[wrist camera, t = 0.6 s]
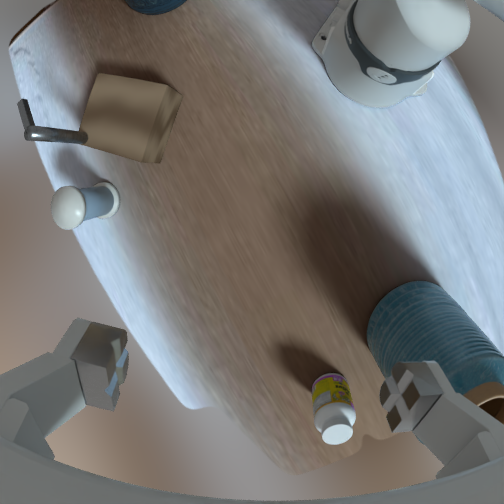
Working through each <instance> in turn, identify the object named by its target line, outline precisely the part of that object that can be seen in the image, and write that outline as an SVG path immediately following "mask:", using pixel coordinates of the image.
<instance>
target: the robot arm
mask: <svg viewBox="0 0 504 504" xmlns="http://www.w3.org/2000/svg"><path fill="white" fill-rule="evenodd" d="M473 1H475V2H476V3H478V4H480V5H481V6H482V7H484V8H485V9H487V10H488V11H490V12H491V13H492V14H494V15H495V16H497V17H498V18H499V19H501V20H502V21H503V22H504V0H473ZM469 30H470V14H469V10H468V7H467V5H466V2H465V0H339V2H338V4H337V6H336V8H335V9H334V10H333V12H332V13H331V15H330V16H329V17H328V19H327V20H326V22H325V23H324V25H323V26H322V27H321V29H320V30H319V32H318V33H317V35H316V36H315V38H314V39H313V41H312V47H313V49H314V50H315V52H316V53H317V54H318V55H319V56H320V57H321V58H322V60H323V62H324V64H325V67H326V70H327V73H328V75H329V77H330V79H331V81H332V82H333V84H334V85H335V86H336V88H337V89H338V90H339V91H340V92H341V93H342V94H344V95H345V96H346V97H348V98H349V99H351V100H352V101H354V102H356V103H358V104H361V105H364V106H367V107H372V108H386V107H390V106H394V105H396V104H398V103H400V102H401V101H403V100H404V99H406V98H408V97H413V96H420V95H423V94H424V93H425V92H426V90H427V82H428V81H429V80H431V79H432V78H433V76H434V72H433V70H434V69H435V68H436V67H437V66H438V65H439V63H440V62H441V60H442V59H443V58H444V57H446V56H447V55H449V54H450V53H452V52H453V51H455V50H456V49H458V48H459V47H460V46H461V45H462V44H463V43H464V42H465V40H466V38H467V36H468V33H469ZM322 37H324V38H326V40H322V39H321V38H322ZM126 343H127V332H126V331H125V330H124V329H120V328H116V327H112V326H108V325H104V324H100V323H96V322H90V321H87V320H84V319H80V318H77V319H75V320H74V321H73V322H72V324H71V325H70V327H69V329H68V330H67V331H66V333H65V335H64V336H63V338H62V339H61V341H60V342H59V344H58V345H57V347H56V349H55V350H54V352H53V353H49V352H48V353H46V354H43V355H41V356H39V357H37V358H35V359H33V360H31V361H29V362H27V363H25V364H22V365H20V366H18V367H16V368H14V369H12V370H10V371H8V372H6V373H4V374H2V375H0V504H504V425H503V424H502V423H501V422H499V421H498V420H496V419H495V418H494V417H492V416H491V415H489V414H488V413H487V412H485V411H484V410H482V409H481V408H480V407H478V406H477V405H475V404H474V403H473V402H471V401H470V400H468V399H467V398H465V397H464V396H463V395H461V394H460V393H456V392H455V391H454V389H453V387H452V386H451V384H450V382H449V381H448V379H447V377H446V376H445V374H444V372H443V371H442V369H441V367H440V366H439V364H438V363H437V362H435V361H398V362H397V363H396V364H394V366H393V367H392V369H391V374H392V375H391V376H390V377H388V378H387V379H385V381H384V382H383V384H382V386H381V389H380V395H379V396H380V402H381V405H382V407H383V408H384V409H385V410H387V411H388V414H387V416H386V418H387V421H388V423H389V426H390V429H391V431H392V433H394V432H405V431H413V433H414V434H415V435H416V436H417V437H418V438H419V439H420V440H421V442H422V443H423V444H424V445H425V446H426V447H427V448H428V449H429V450H430V451H431V452H432V453H433V454H434V455H435V456H436V457H437V458H438V459H439V460H440V461H441V462H442V463H443V464H444V465H445V466H444V467H443V468H442V469H441V470H440V471H439V472H438V473H437V475H436V478H437V479H436V480H432V481H429V482H424V483H420V484H416V485H412V486H408V487H403V488H398V489H393V490H388V491H383V492H377V493H371V494H364V495H357V496H350V497H340V498H330V499H317V500H298V501H254V500H233V499H221V498H210V497H201V496H194V495H186V494H180V493H173V492H167V491H162V490H157V489H151V488H146V487H142V486H138V485H133V484H129V483H125V482H121V481H117V480H113V479H109V478H106V477H103V476H99V475H96V474H93V473H90V472H86V471H83V470H80V469H77V468H74V467H71V466H69V465H66V464H63V463H60V462H58V461H55V460H54V457H55V456H54V454H53V452H52V450H51V448H50V447H49V445H48V443H47V442H46V440H45V437H46V436H48V435H49V434H50V433H52V432H53V431H54V430H56V429H57V428H58V427H60V426H61V425H62V424H63V423H65V422H66V421H68V420H69V419H70V418H71V417H73V416H74V415H75V414H76V413H78V412H79V411H80V410H82V409H83V408H84V407H86V405H90V406H94V407H97V408H101V409H106V410H110V411H114V409H115V406H116V404H117V401H118V398H119V395H120V391H119V385H121V384H123V383H124V381H125V378H126V375H127V369H128V360H129V358H128V351H127V350H126V349H125V346H126Z"/></svg>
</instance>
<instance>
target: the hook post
mask: <svg viewBox="0 0 504 504" xmlns="http://www.w3.org/2000/svg"><path fill="white" fill-rule="evenodd" d="M17 105H18V108H19V112H20V116H21V119H22V122H23V126H24V129H25V132H24V137H25V139H26V140H28V141H46V142H61V143H74V144H85V143H86V142H87V140H88V134H87V133H86V132H80V131H73V130H65V129H57V128H49V127H41V126H35V124H34V121H33V117H32V114H31V111H30V107H29V104H28V101H27V99H21V100H20V102H18V104H17Z"/></svg>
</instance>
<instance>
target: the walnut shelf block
mask: <svg viewBox="0 0 504 504" xmlns="http://www.w3.org/2000/svg"><path fill="white" fill-rule="evenodd" d="M182 98H183V96H182V95H181V94H179V93H178V92H177V91H175V90H174V89H172V88H171V87H170V86H168V85H165V84H160V83H155V82H150V81H145V80H139V79H134V78H128V77H122V76H116V75H109V74H102V73H98V75H97V78H96V80H95V83H94V86H93V88H92V91H91V94H90V97H89V100H88V103H87V106H86V109H85V112H84V115H83V118H82V122H81V125H80V128H79V131H80V132H86V133H87V134H88V140H87V142H86V143H85V144H81V145H84V146H88V147H91V148H95V149H98V150H102V151H105V152H109V153H112V154H115V155H119V156H122V157H125V158H129V159H132V160H135V161H138V162H145V163H161V160H162V156H163V153H164V150H165V147H166V144H167V141H168V138H169V135H170V132H171V129H172V126H173V123H174V121H175V118H176V115H177V112H178V109H179V107H180V104H181V101H182Z"/></svg>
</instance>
